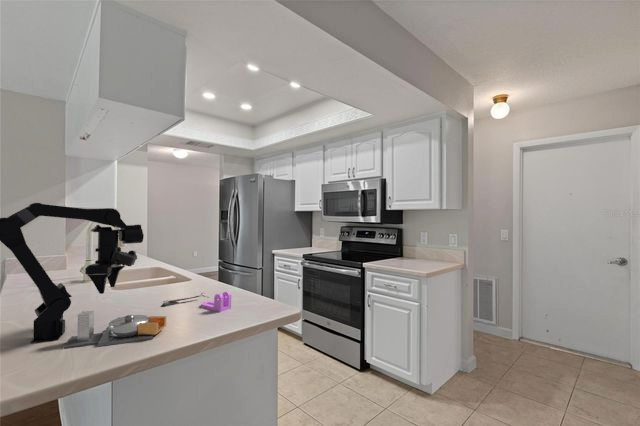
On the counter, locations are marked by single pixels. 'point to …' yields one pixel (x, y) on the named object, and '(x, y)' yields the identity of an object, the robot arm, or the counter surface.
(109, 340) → the base plate
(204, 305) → the bracket
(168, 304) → the hacksaw
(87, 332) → the gray rectangular block
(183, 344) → the counter surface
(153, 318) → the oval metal lid
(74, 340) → the mat
